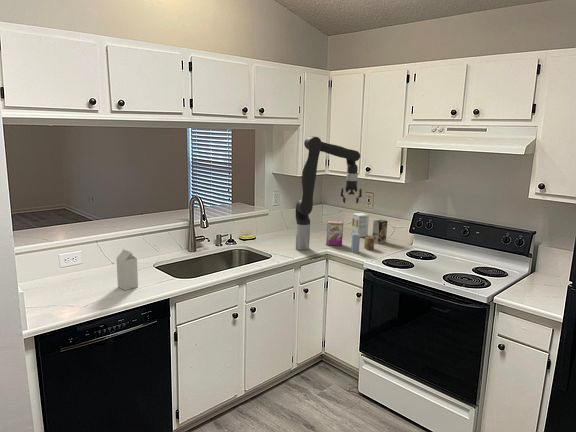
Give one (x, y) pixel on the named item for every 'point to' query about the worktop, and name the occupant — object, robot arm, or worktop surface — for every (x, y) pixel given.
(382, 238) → the coffee box
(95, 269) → the worktop surface
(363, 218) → the supplement box
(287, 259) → the worktop surface
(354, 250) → the slate-blue block
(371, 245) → the walnut block
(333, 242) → the candy bar box
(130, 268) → the milk carton
